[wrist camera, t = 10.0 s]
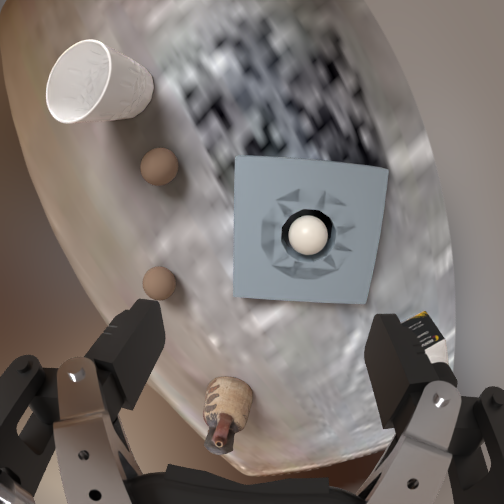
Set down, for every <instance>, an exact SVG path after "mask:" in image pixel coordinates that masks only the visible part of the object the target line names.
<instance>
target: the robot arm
mask: <svg viewBox="0 0 504 504" xmlns="http://www.w3.org/2000/svg"><path fill="white" fill-rule="evenodd" d="M164 344H165V330H164V325H163V319H162V314H161V308H160V304H159V302H158V301H154V300H146V299H138V300H137V301H136V302H135V304H134V305H133V306H132V307H131V309H130V310H125V311H123V312H122V313H120V314H118V315H117V316H115V318H114V319H113V320H112V321H111V323H110V324H109V327H107V328H106V329H105V330H104V333H102V334H101V335H100V337H99V338H98V339H97V341H96V342H95V343H94V344H93V346H92V347H91V348H90V350H89V351H88V352H87V353H86V355H85V356H84V357H74V358H71V359H68V360H67V361H65V362H64V363H63V364H62V365H61V366H60V367H59V368H42V366H41V364H40V362H39V360H38V359H37V358H36V357H35V356H33V355H24V356H20V357H18V358H17V359H15V360H14V361H13V362H12V363H11V364H10V366H9V367H8V368H7V369H6V371H5V372H4V373H3V374H2V376H1V377H0V504H35V501H34V498H33V497H34V495H35V493H36V490H37V488H38V486H39V483H40V481H41V479H42V476H43V474H44V472H45V470H46V467H47V465H48V463H49V461H50V459H51V457H52V455H53V453H54V451H55V449H56V452H57V459H58V464H59V469H60V474H61V479H62V483H63V488H64V492H65V496H66V499H67V503H68V504H433V503H434V501H435V499H436V497H437V495H438V493H439V490H440V488H441V485H442V483H443V481H444V478H445V476H446V473H447V471H448V474H449V479H450V483H451V488H452V494H453V499H454V504H504V390H502V389H501V388H498V387H493V386H492V387H488V388H486V389H485V390H484V391H483V392H482V394H481V395H480V397H479V398H477V397H466V396H461V395H460V393H459V391H458V390H457V389H456V387H454V386H453V385H452V384H450V383H448V382H445V381H440V379H439V377H438V375H437V373H436V371H435V369H434V367H433V365H432V363H431V361H430V359H429V358H428V356H427V354H425V350H424V348H423V346H421V343H420V341H419V339H418V337H417V335H416V334H415V333H414V332H412V331H411V330H410V329H409V328H408V327H403V326H402V324H401V322H400V320H399V319H398V317H397V315H396V314H376V315H375V316H374V319H373V322H372V326H371V329H370V332H369V336H368V339H367V342H366V346H365V351H364V359H365V364H366V367H367V370H368V374H369V377H370V381H371V384H372V388H373V392H374V395H375V399H376V403H377V407H378V410H379V414H380V418H381V422H382V426H383V429H389V428H395V432H396V434H395V435H394V437H393V438H392V440H391V442H390V444H389V445H388V447H387V449H386V450H385V452H384V454H383V456H382V457H381V459H380V461H379V462H378V464H377V465H376V467H375V469H374V470H373V472H372V473H371V475H370V476H369V478H368V479H367V480H366V482H365V483H364V484H363V485H362V486H361V488H360V489H359V490H358V492H357V493H356V494H353V493H351V492H348V491H346V490H343V489H340V488H336V487H330V486H329V480H328V478H302V479H291V478H289V479H285V480H278V481H273V482H267V483H260V484H253V485H244V484H240V483H237V482H234V481H231V480H228V479H225V478H222V477H219V476H217V475H214V474H212V473H209V472H206V471H201V470H196V469H190V468H185V467H181V466H175V465H171V464H168V466H167V469H166V472H156V473H148V474H143V473H142V472H141V470H140V468H139V466H138V464H137V462H136V460H135V458H134V456H133V453H132V451H131V448H130V445H129V443H128V440H127V437H126V434H125V431H124V429H123V425H122V422H121V419H120V417H119V415H118V413H119V411H120V409H121V407H122V408H125V409H129V410H133V409H134V407H135V405H136V402H137V400H138V398H139V396H140V394H141V392H142V390H143V388H144V386H145V384H146V382H147V380H148V378H149V376H150V374H151V372H152V370H153V368H154V366H155V364H156V362H157V360H158V358H159V356H160V354H161V352H162V350H163V348H164ZM28 406H29V407H30V408H31V410H32V411H33V413H32V415H31V416H30V418H29V420H28V421H27V423H26V425H25V427H24V428H23V430H22V432H21V433H20V435H19V436H18V434H17V430H16V427H17V424H18V422H19V420H20V418H21V417H22V415H23V414H24V412H25V410H26V409H27V407H28ZM484 442H485V444H486V447H487V450H488V453H489V456H490V459H491V468H490V471H489V473H488V469H487V466H486V462H485V459H484V456H483V453H482V450H481V447H480V446H481V445H482V444H483V443H484Z"/></svg>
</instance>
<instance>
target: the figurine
mask: <svg viewBox="0 0 504 504" xmlns="http://www.w3.org/2000/svg"><path fill="white" fill-rule="evenodd" d="M252 397H253V395H252V390H251V388H250V387H249V385H248V384H246V383H245V382H244V381H242V380H240V379H238V378H234V377H226V376H225V377H218V378H215V379H214V380H212V381H211V382H210V383H209V385H208V387H207V391H206V399H205V406H204V411H203V417H204V420H205V422H206V424H207V425H208V426H209V430H208V435H207V437H206V440H205V443H204V446H205V447H206V448H207V449H208V450H209V451H210V452H211V453H213V454H217V455H222V454H227V453H229V452H232V451H233V443H234V434H235V433H237V432H239V431H241V430H242V429H243V428H244V426H245V425H246V423H247V420H248V416H249V412H250V408H251V404H252Z"/></svg>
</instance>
